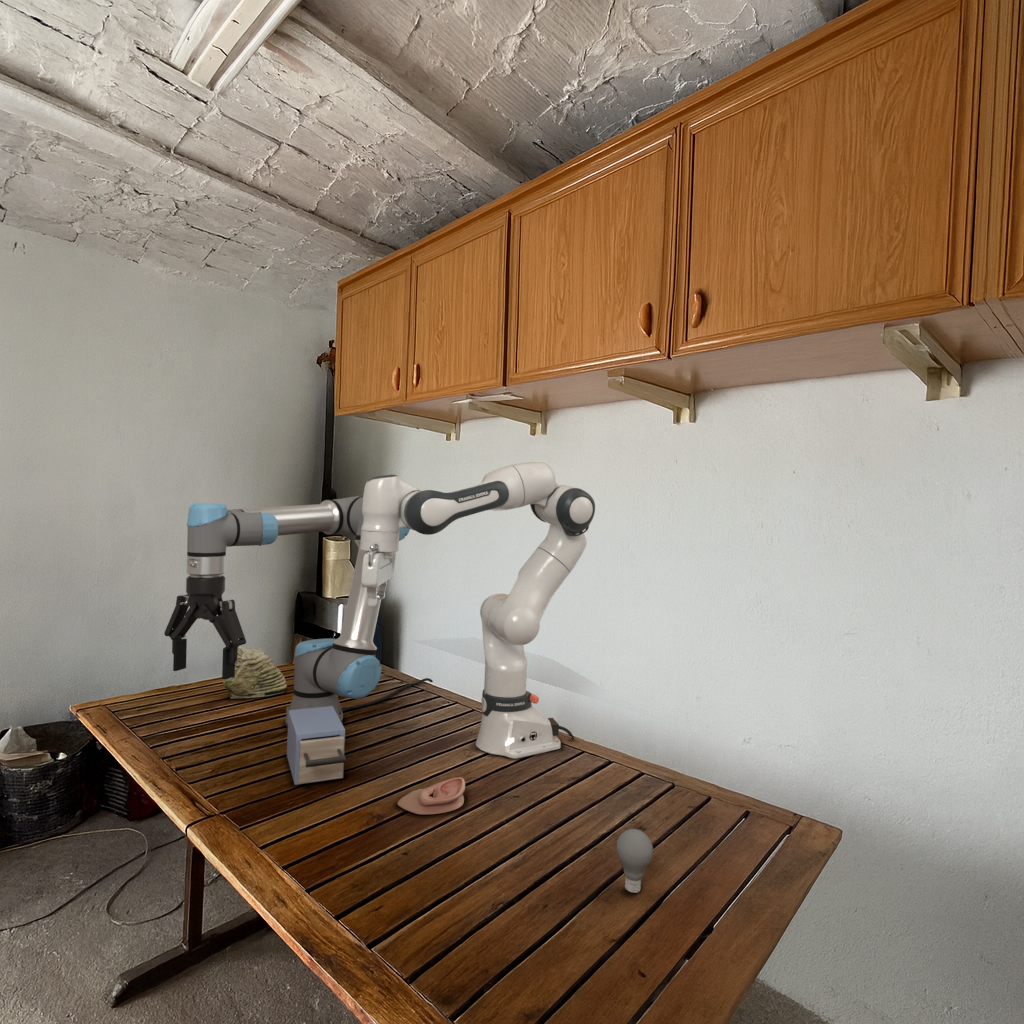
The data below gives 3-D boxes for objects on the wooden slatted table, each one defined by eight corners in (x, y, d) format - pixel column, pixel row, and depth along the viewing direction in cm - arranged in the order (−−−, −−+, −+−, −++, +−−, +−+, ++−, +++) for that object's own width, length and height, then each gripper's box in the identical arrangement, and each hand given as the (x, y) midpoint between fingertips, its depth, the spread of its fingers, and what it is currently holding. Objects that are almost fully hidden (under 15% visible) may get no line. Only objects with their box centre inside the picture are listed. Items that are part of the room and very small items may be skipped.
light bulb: (610, 879, 108) (613, 822, 108) (644, 879, 109) (647, 822, 109) (619, 902, 102) (622, 840, 102) (655, 901, 103) (658, 840, 103)
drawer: (347, 789, 135) (349, 747, 135) (302, 796, 132) (303, 753, 131) (330, 751, 155) (332, 714, 155) (291, 756, 151) (292, 718, 151)
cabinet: (343, 778, 143) (345, 729, 143) (294, 785, 139) (296, 735, 138) (330, 749, 158) (332, 705, 158) (286, 755, 154) (288, 710, 154)
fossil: (218, 695, 195) (220, 647, 195) (278, 685, 208) (279, 640, 207) (228, 703, 189) (230, 653, 188) (289, 692, 201) (290, 645, 201)
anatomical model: (392, 791, 129) (412, 768, 140) (391, 810, 129) (411, 786, 140) (454, 800, 126) (470, 776, 137) (454, 820, 126) (469, 794, 137)
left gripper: (147, 572, 136) (145, 670, 137) (238, 582, 128) (236, 686, 128) (176, 569, 143) (174, 662, 144) (265, 578, 135) (262, 676, 135)
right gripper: (384, 547, 138) (381, 610, 138) (400, 541, 159) (397, 596, 159) (355, 545, 138) (352, 608, 138) (374, 540, 159) (372, 595, 159)
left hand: (203, 673), depth 136 cm, fingers open, 13 cm apart
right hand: (376, 602), depth 149 cm, fingers open, 8 cm apart
